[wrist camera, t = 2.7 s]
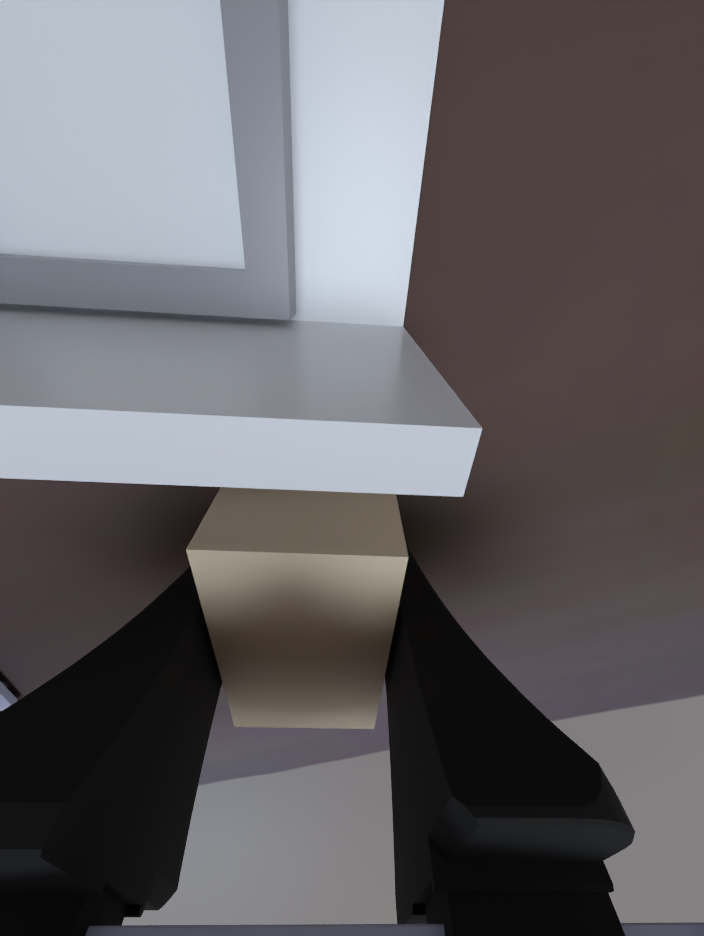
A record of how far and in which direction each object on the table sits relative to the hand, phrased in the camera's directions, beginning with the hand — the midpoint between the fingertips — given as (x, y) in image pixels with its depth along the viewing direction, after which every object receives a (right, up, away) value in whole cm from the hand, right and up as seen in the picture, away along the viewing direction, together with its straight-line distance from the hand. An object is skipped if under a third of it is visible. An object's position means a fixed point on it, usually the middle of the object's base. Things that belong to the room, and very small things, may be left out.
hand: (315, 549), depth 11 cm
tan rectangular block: (0, +1, +1) cm, 1 cm away
